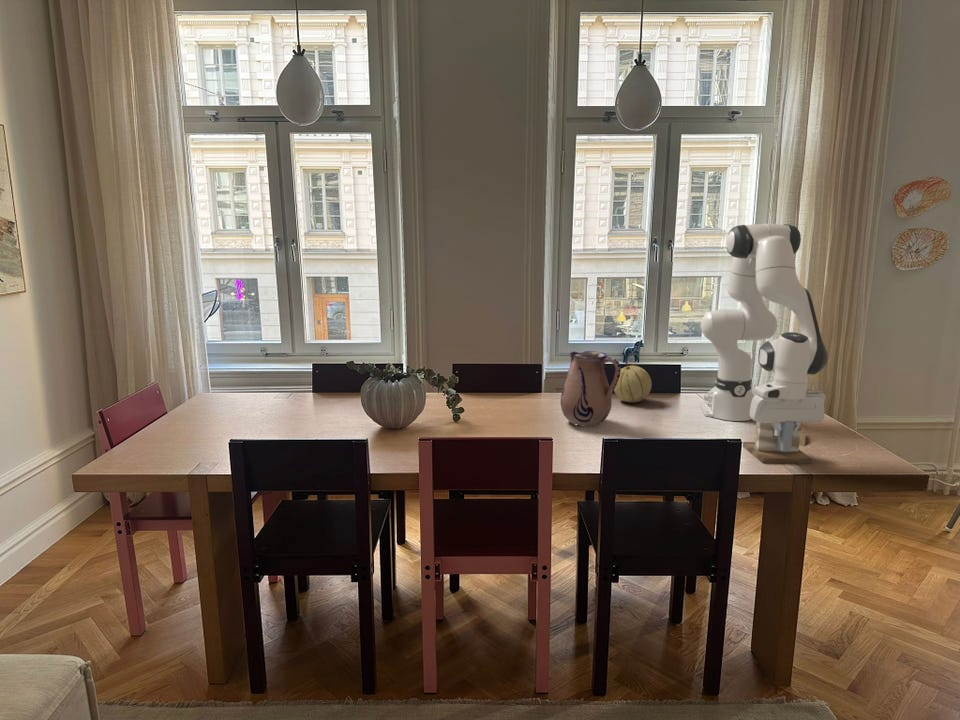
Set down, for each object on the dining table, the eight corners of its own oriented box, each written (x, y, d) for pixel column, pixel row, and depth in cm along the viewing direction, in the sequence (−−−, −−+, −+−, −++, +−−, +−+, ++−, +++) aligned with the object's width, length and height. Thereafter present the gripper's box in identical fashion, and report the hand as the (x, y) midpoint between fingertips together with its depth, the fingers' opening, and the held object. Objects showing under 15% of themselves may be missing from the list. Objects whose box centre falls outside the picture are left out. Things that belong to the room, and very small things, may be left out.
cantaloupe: (656, 401, 242) (659, 364, 239) (639, 409, 231) (641, 370, 228) (623, 395, 251) (625, 359, 248) (605, 402, 240) (606, 365, 237)
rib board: (742, 446, 190) (745, 414, 188) (788, 446, 189) (791, 414, 187) (762, 463, 176) (765, 428, 174) (811, 463, 176) (815, 428, 174)
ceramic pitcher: (570, 413, 225) (572, 347, 220) (626, 421, 215) (630, 352, 210) (552, 426, 211) (553, 355, 206) (611, 435, 200) (614, 361, 195)
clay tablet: (770, 430, 207) (771, 423, 206) (803, 435, 202) (804, 427, 202) (769, 443, 194) (770, 435, 193) (805, 448, 190) (806, 440, 189)
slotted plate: (764, 438, 188) (766, 410, 186) (772, 438, 188) (774, 410, 186) (782, 451, 176) (785, 421, 174) (790, 451, 176) (794, 421, 174)
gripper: (819, 387, 177) (814, 432, 180) (749, 387, 178) (745, 432, 180) (831, 392, 171) (826, 439, 174) (758, 392, 171) (754, 439, 174)
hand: (784, 435), depth 177 cm, fingers closed on slotted plate, 2 cm apart
